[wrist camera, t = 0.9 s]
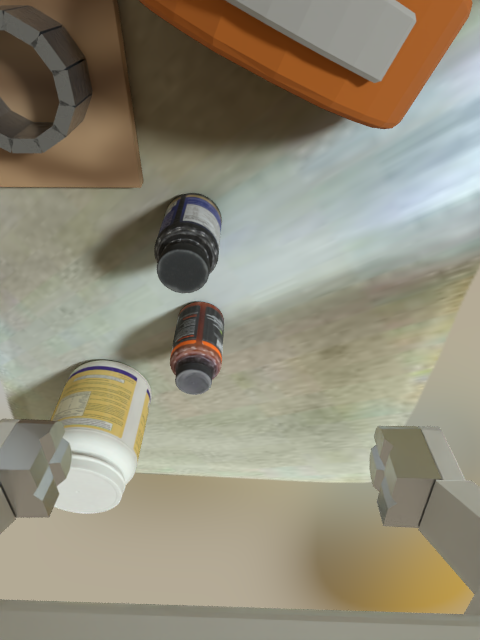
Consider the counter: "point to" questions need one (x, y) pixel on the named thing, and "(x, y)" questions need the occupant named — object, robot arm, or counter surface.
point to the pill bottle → (188, 243)
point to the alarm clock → (329, 47)
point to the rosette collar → (69, 76)
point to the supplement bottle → (197, 347)
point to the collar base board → (42, 102)
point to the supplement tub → (101, 433)
